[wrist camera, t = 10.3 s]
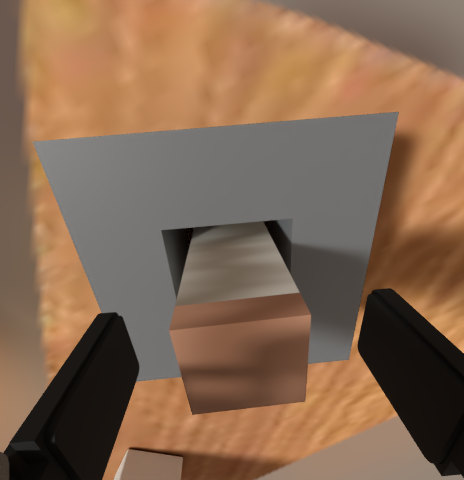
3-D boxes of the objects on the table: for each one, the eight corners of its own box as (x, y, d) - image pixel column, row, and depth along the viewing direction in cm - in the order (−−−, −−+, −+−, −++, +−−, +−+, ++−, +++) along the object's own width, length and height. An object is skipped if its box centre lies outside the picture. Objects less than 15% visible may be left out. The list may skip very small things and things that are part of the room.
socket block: (330, 119, 14) (398, 111, 9) (313, 298, 20) (348, 359, 15) (103, 138, 14) (32, 141, 9) (153, 314, 20) (129, 382, 15)
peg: (254, 204, 16) (311, 314, 7) (257, 254, 18) (305, 401, 8) (198, 210, 16) (168, 330, 6) (206, 259, 18) (192, 414, 8)
